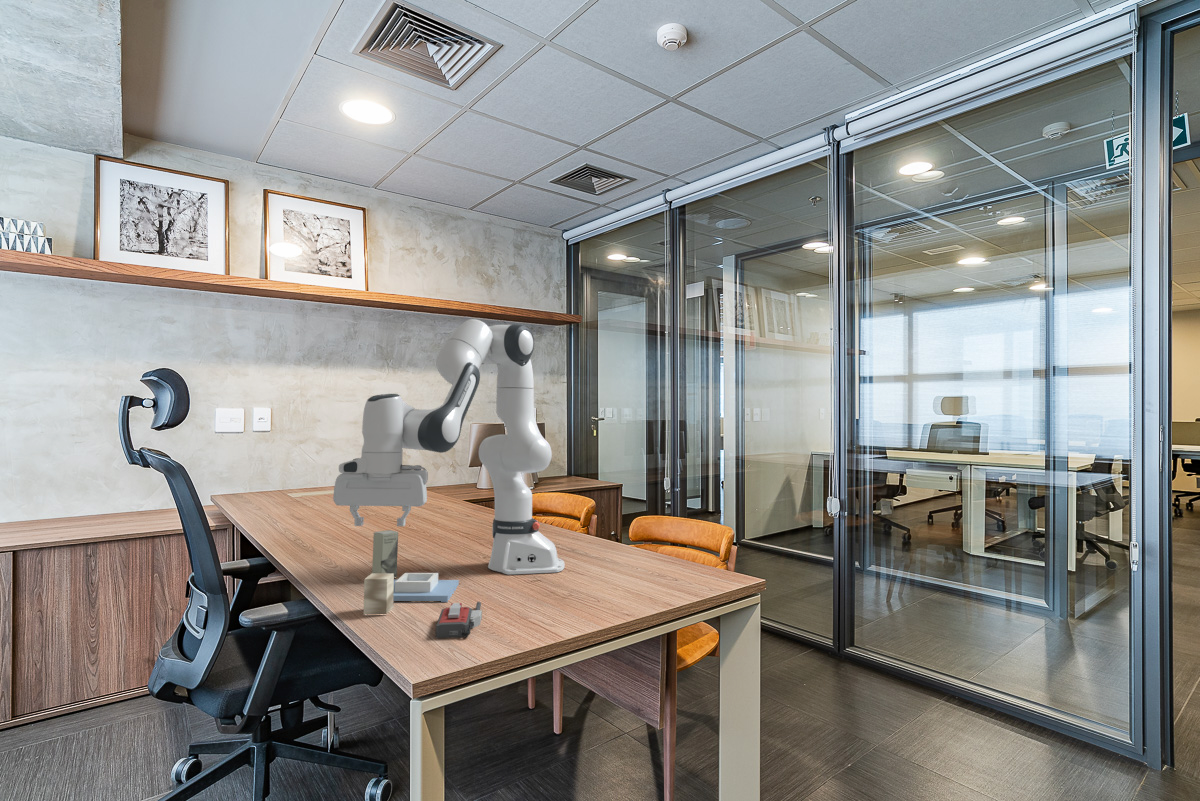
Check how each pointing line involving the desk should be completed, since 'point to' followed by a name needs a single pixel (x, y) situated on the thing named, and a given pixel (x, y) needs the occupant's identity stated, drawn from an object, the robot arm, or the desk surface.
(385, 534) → the box
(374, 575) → the block
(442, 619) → the walkie-talkie
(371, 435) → the robot arm
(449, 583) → the base plate
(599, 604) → the desk surface
